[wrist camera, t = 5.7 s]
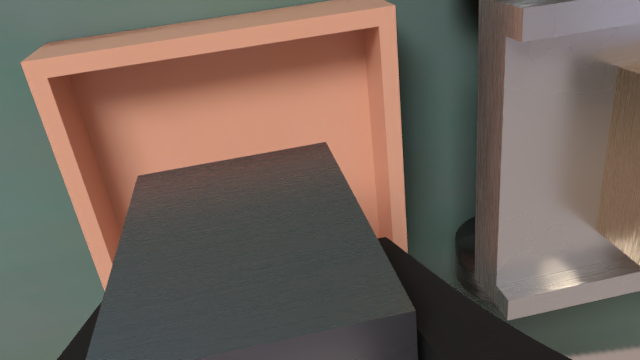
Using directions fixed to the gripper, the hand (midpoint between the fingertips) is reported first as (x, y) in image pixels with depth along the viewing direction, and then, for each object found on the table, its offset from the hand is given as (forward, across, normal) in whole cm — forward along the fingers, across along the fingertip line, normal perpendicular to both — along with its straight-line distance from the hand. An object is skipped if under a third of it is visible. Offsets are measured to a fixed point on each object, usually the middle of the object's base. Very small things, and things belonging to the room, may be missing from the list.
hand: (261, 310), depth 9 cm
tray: (+6, 0, 0) cm, 6 cm away
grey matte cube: (+2, 0, 0) cm, 2 cm away
